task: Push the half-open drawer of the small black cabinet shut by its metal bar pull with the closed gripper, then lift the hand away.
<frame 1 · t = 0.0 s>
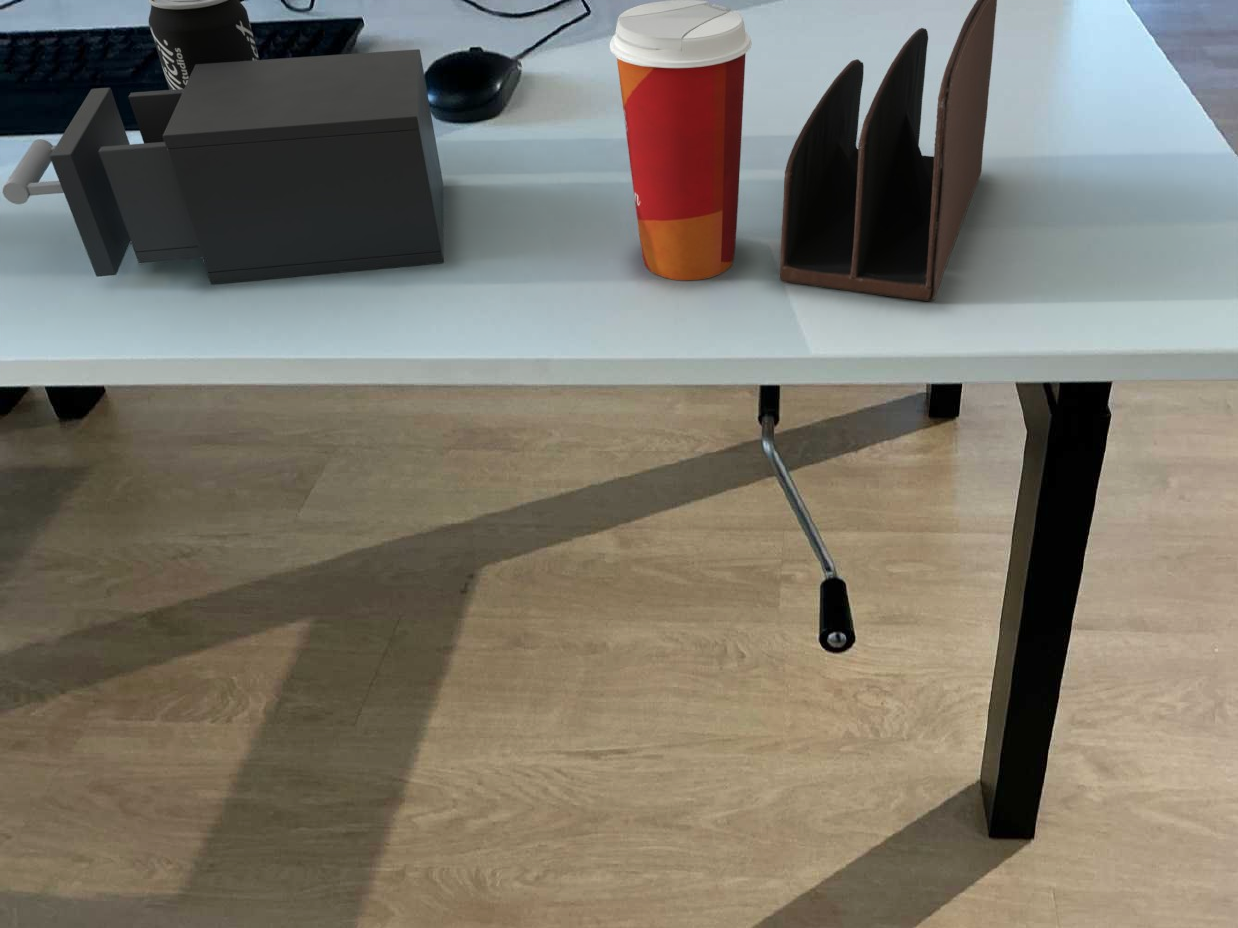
coffee cup: (688, 262, 78), on the table
letter holder: (886, 229, 82), on the table
drawer: (169, 174, 78), point 5 cm above the table, slide at 5.5 cm
cabinet: (335, 231, 82), on the table
beverage can: (239, 162, 91), on the table
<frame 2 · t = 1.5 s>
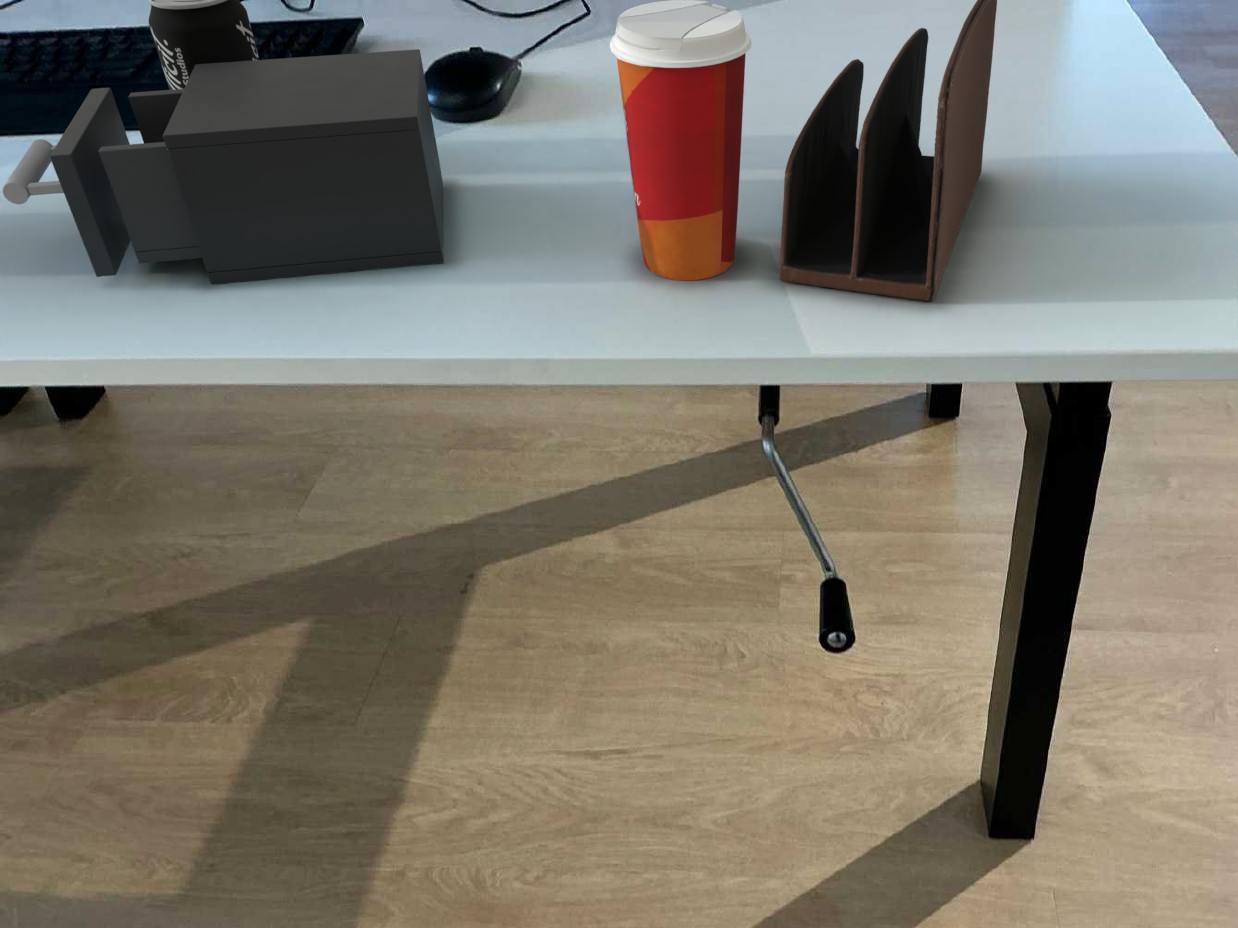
nothing on the table moved.
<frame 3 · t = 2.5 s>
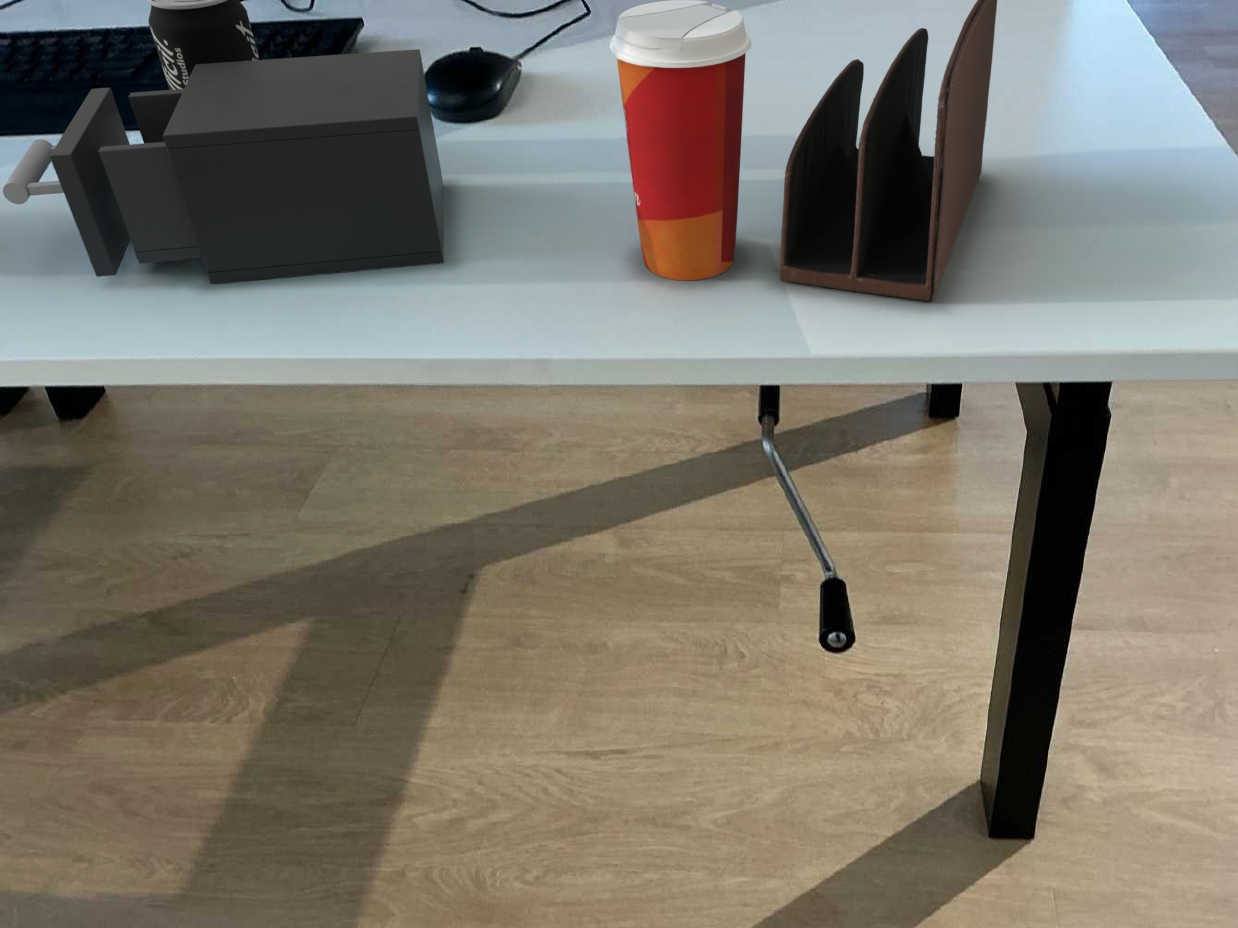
nothing on the table moved.
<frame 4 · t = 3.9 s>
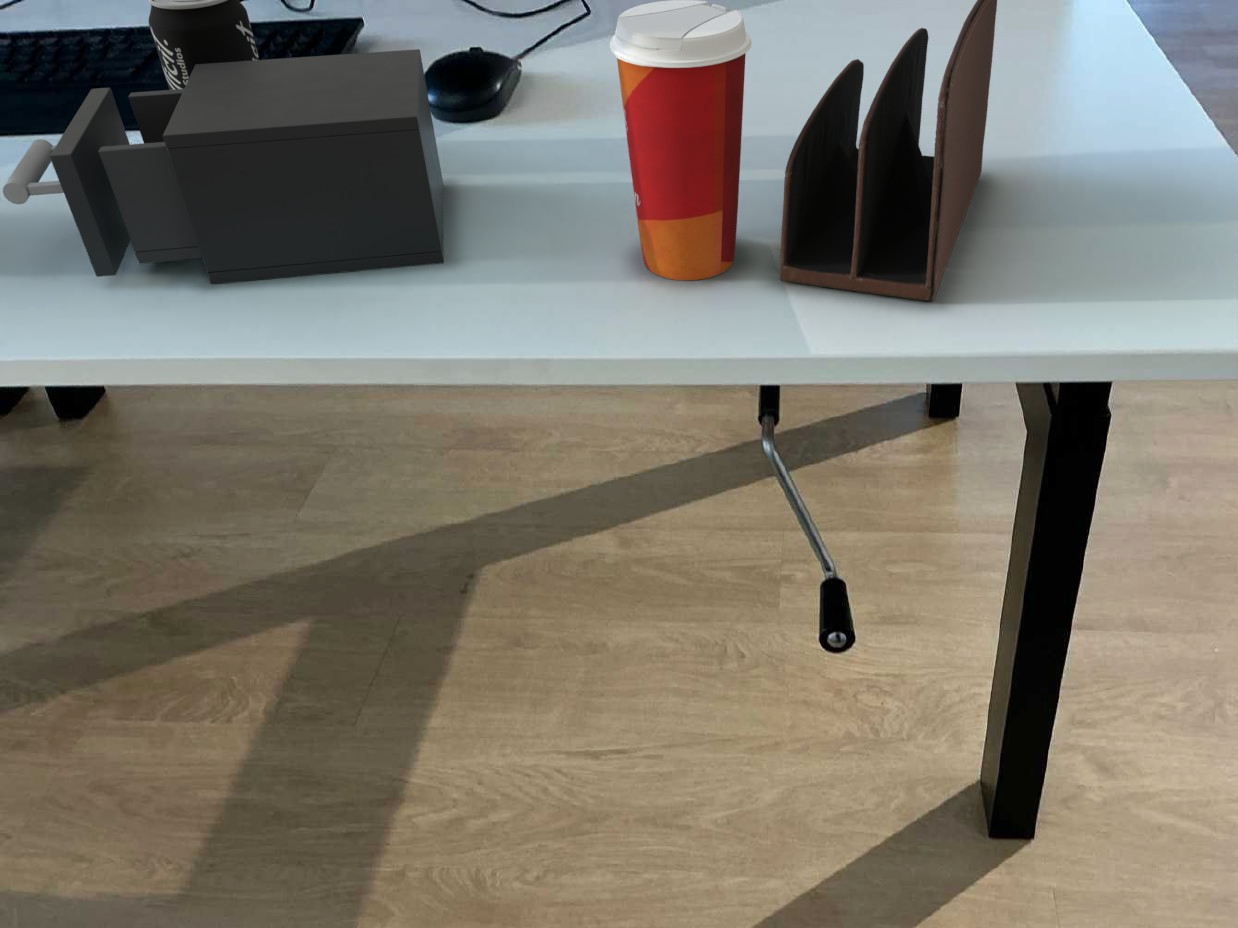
nothing on the table moved.
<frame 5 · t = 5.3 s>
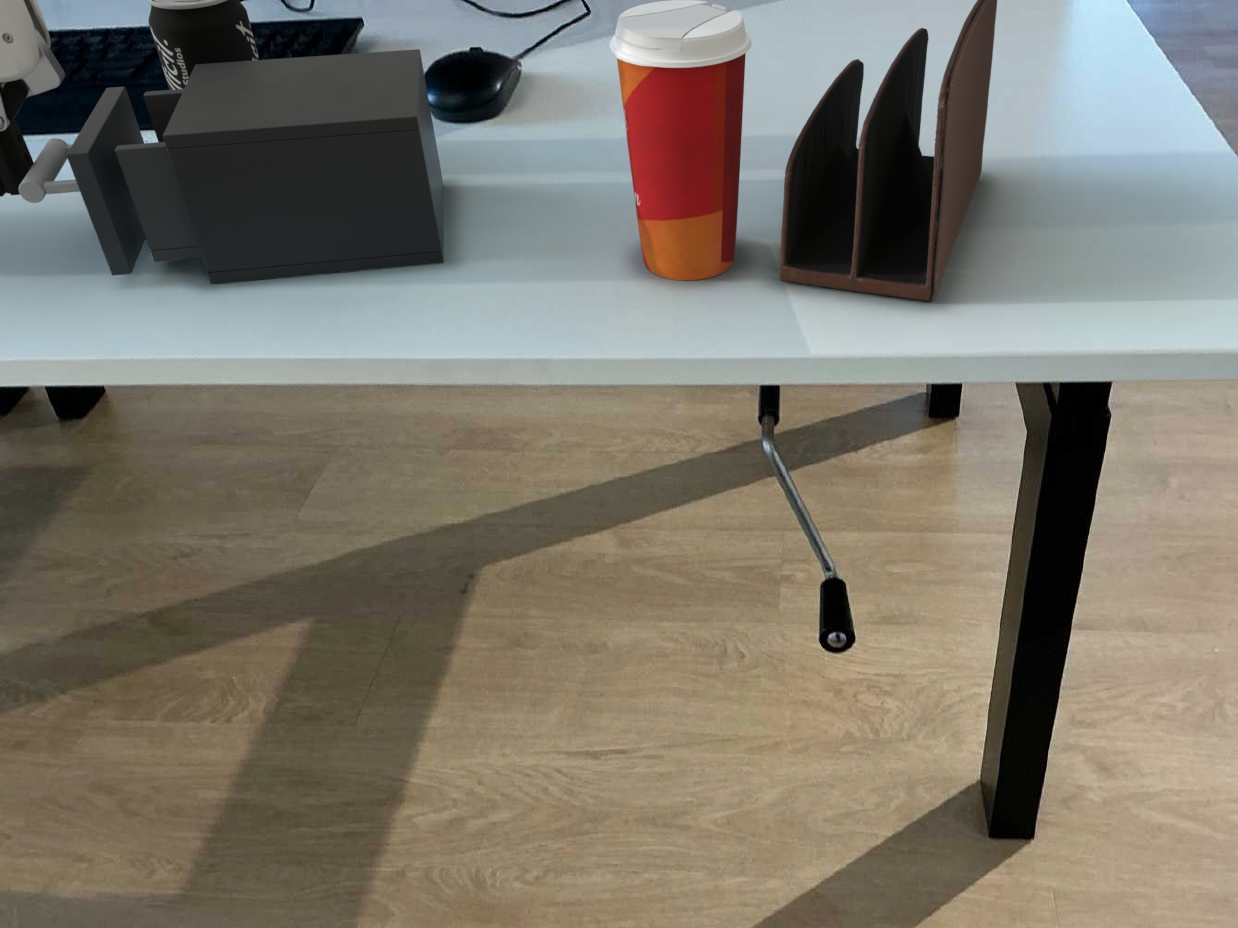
hand: (12, 186, 76), 5 cm above the table, tool pointing down, fingers closed
drawer: (184, 173, 78), point 5 cm above the table, slide at 4.6 cm, touching gripper
everything else where it was.
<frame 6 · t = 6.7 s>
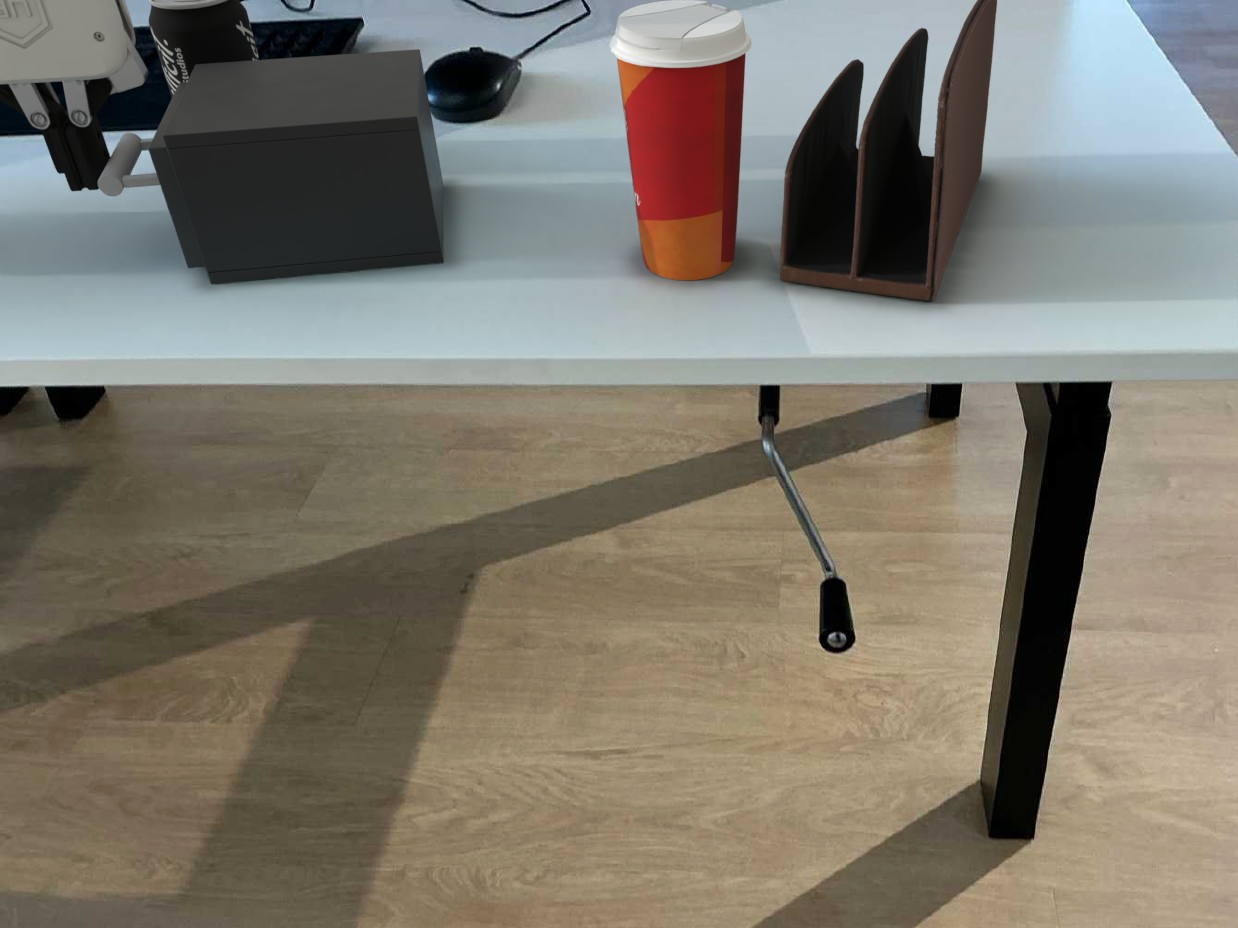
hand: (89, 181, 77), 5 cm above the table, tool pointing down, fingers closed
drawer: (257, 167, 78), point 5 cm above the table, slide at 0.0 cm, touching cabinet, gripper
everything else where it was.
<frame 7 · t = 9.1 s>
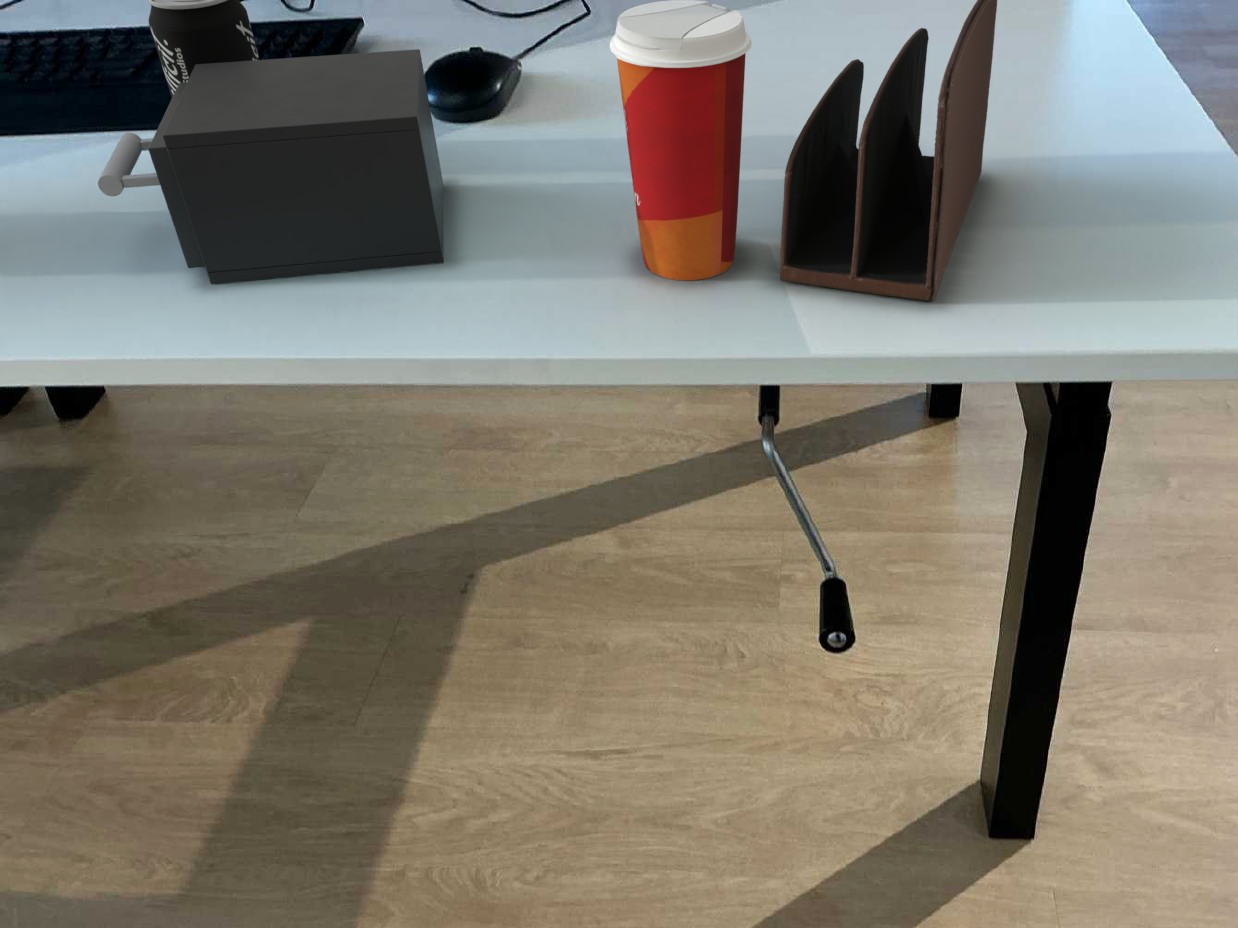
drawer: (257, 167, 78), point 5 cm above the table, slide at 0.0 cm, touching cabinet
everything else where it was.
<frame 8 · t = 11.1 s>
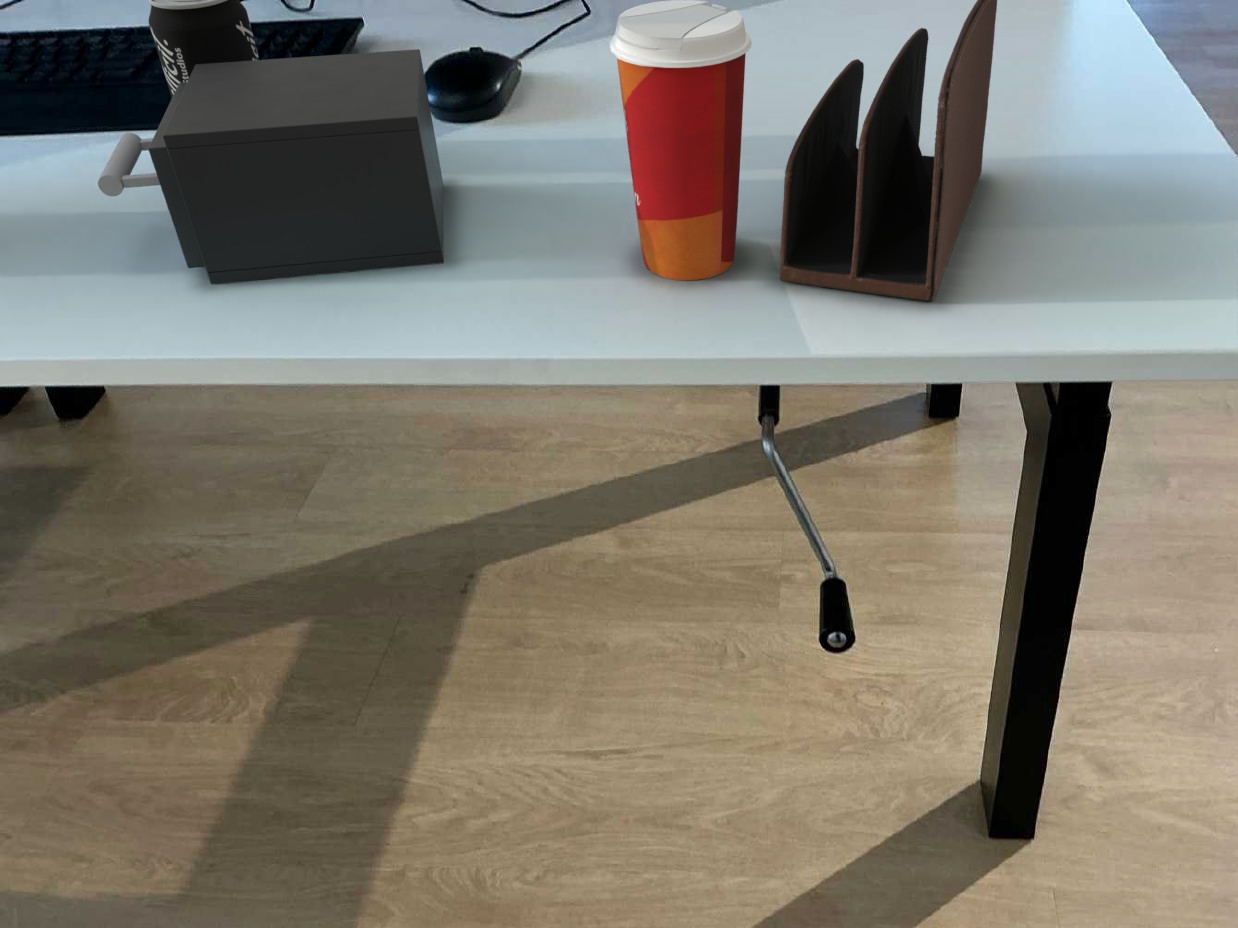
nothing on the table moved.
at the end: drawer slide at 0.0 cm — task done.
